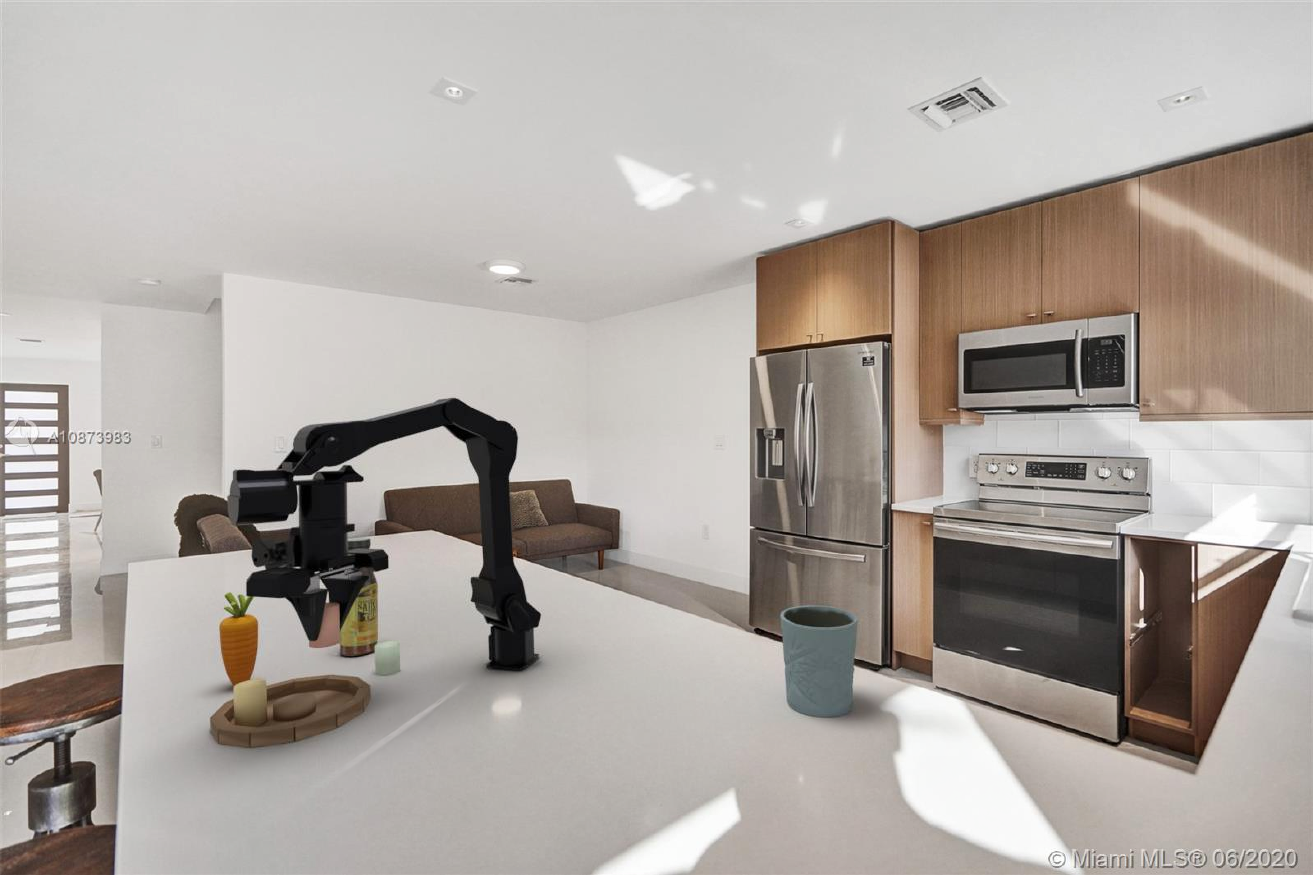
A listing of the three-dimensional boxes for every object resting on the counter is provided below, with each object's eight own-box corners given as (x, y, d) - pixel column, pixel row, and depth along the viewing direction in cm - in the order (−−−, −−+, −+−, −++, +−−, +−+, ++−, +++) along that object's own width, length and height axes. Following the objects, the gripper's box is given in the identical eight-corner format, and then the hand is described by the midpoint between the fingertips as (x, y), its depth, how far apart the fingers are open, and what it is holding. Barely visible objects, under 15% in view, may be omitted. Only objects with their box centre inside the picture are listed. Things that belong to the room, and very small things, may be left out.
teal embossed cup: (808, 683, 92) (806, 601, 92) (874, 703, 85) (871, 613, 85) (767, 705, 85) (765, 616, 85) (835, 728, 78) (832, 631, 78)
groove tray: (396, 697, 91) (396, 680, 91) (294, 760, 74) (294, 739, 74) (295, 687, 96) (294, 671, 96) (177, 744, 79) (176, 724, 79)
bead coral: (346, 640, 85) (345, 603, 85) (325, 648, 82) (324, 610, 82) (323, 638, 86) (323, 601, 86) (302, 647, 83) (302, 608, 83)
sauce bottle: (363, 658, 108) (359, 542, 108) (331, 657, 109) (327, 542, 109) (386, 646, 115) (383, 536, 115) (356, 644, 116) (353, 536, 116)
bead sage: (405, 672, 101) (404, 641, 101) (390, 681, 98) (389, 649, 98) (386, 671, 102) (385, 640, 102) (370, 679, 99) (369, 647, 99)
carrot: (267, 688, 96) (264, 589, 96) (234, 701, 92) (231, 597, 92) (246, 683, 98) (244, 586, 98) (213, 695, 94) (210, 594, 94)
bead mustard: (274, 717, 84) (272, 680, 84) (249, 730, 80) (248, 690, 80) (252, 715, 85) (251, 678, 85) (227, 727, 81) (226, 688, 81)
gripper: (327, 509, 95) (328, 614, 95) (209, 526, 77) (210, 654, 77) (390, 510, 92) (391, 618, 92) (283, 527, 74) (284, 661, 74)
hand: (324, 636), depth 84 cm, fingers closed on bead coral, 4 cm apart
